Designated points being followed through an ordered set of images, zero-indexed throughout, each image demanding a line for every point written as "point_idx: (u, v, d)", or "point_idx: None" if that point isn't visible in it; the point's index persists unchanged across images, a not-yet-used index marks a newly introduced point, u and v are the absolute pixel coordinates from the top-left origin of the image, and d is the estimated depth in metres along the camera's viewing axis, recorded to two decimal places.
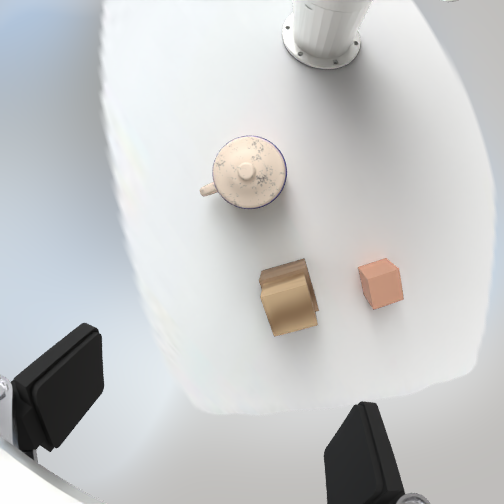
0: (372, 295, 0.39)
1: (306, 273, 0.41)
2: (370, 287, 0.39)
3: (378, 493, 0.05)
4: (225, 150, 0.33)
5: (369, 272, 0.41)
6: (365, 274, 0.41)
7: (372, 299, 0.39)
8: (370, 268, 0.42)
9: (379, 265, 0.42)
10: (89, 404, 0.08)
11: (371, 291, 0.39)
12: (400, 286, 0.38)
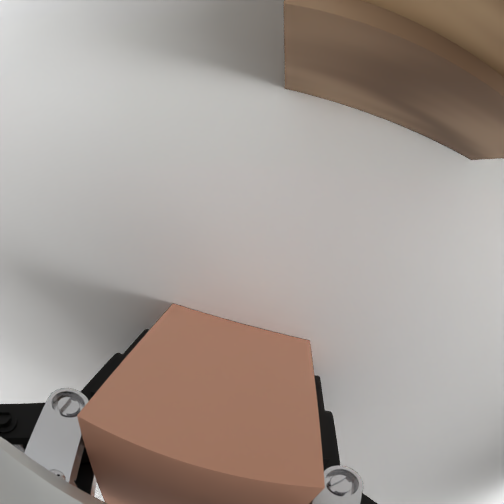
0: (184, 468, 0.04)
1: None
2: (253, 482, 0.04)
3: None
4: None
5: None
6: None
7: (153, 452, 0.04)
8: None
9: None
10: None
11: (219, 477, 0.04)
12: None
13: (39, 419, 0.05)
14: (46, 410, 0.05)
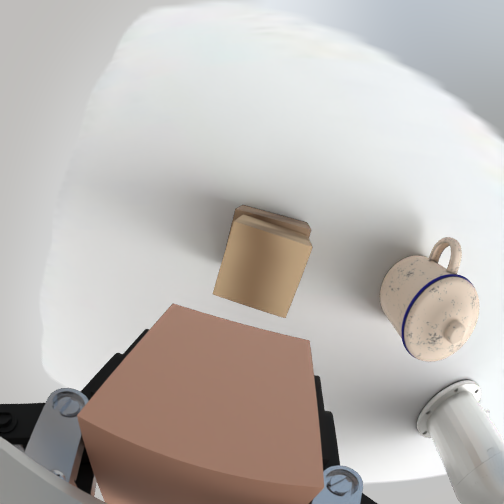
0: (184, 468, 0.04)
1: None
2: (253, 482, 0.04)
3: None
4: (476, 313, 0.21)
5: None
6: None
7: (152, 452, 0.04)
8: None
9: None
10: None
11: (218, 476, 0.04)
12: None
13: (39, 419, 0.05)
14: (45, 409, 0.05)
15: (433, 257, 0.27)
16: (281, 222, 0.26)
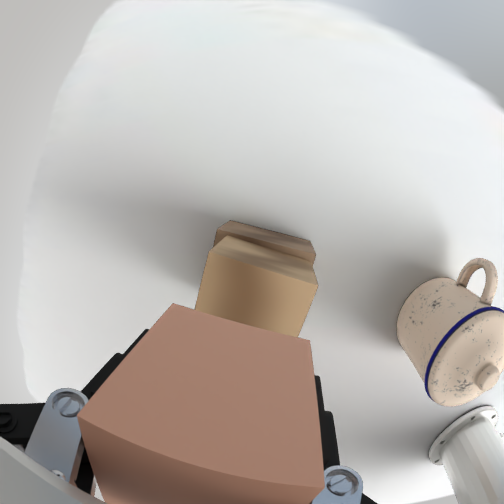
0: (184, 468, 0.04)
1: None
2: (253, 482, 0.04)
3: None
4: None
5: None
6: None
7: (152, 452, 0.04)
8: None
9: None
10: None
11: (219, 476, 0.04)
12: None
13: (39, 419, 0.05)
14: (45, 409, 0.05)
15: (460, 281, 0.21)
16: (277, 245, 0.20)
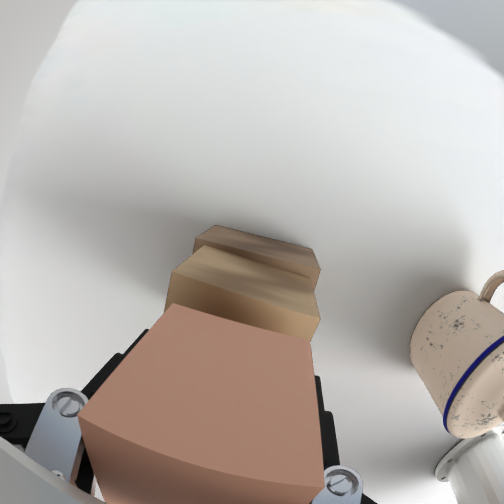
0: (184, 467, 0.04)
1: None
2: (253, 482, 0.04)
3: None
4: None
5: None
6: None
7: (153, 452, 0.04)
8: None
9: None
10: None
11: (219, 476, 0.04)
12: None
13: (39, 419, 0.05)
14: (45, 409, 0.05)
15: (483, 295, 0.17)
16: (271, 258, 0.16)
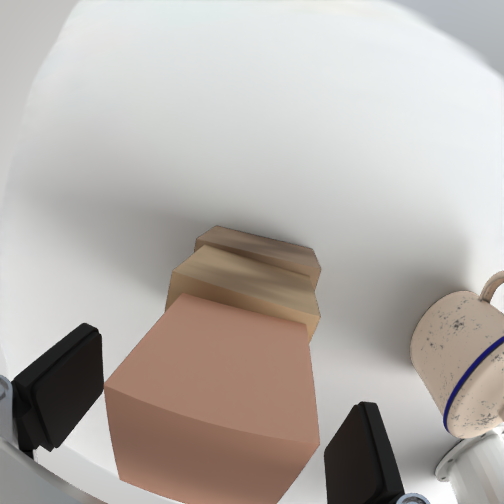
0: (198, 426, 0.05)
1: None
2: (257, 438, 0.05)
3: (378, 493, 0.05)
4: None
5: None
6: None
7: (171, 413, 0.05)
8: None
9: None
10: (89, 404, 0.08)
11: (228, 433, 0.05)
12: (182, 500, 0.07)
13: None
14: None
15: (483, 295, 0.17)
16: (272, 258, 0.16)
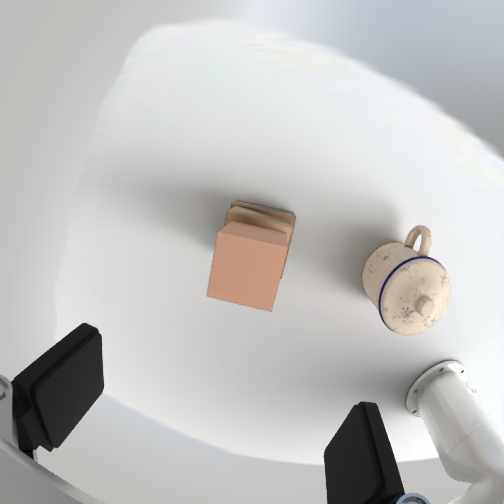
0: (249, 242, 0.20)
1: None
2: (268, 245, 0.20)
3: (378, 493, 0.05)
4: (447, 291, 0.26)
5: None
6: None
7: (240, 238, 0.20)
8: None
9: None
10: (89, 404, 0.08)
11: (258, 243, 0.20)
12: (235, 300, 0.22)
13: None
14: None
15: (408, 244, 0.32)
16: (270, 212, 0.31)
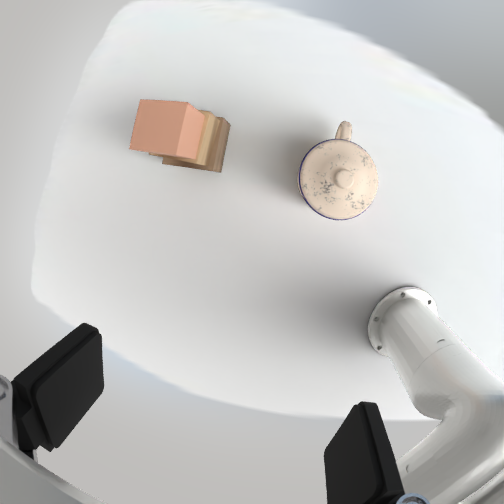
0: (160, 102, 0.23)
1: (206, 168, 0.35)
2: (173, 103, 0.23)
3: (378, 493, 0.05)
4: (373, 173, 0.29)
5: (192, 116, 0.26)
6: (193, 109, 0.25)
7: (155, 101, 0.23)
8: (195, 125, 0.27)
9: (192, 139, 0.28)
10: (89, 404, 0.08)
11: (167, 102, 0.23)
12: (149, 149, 0.25)
13: None
14: None
15: None
16: None
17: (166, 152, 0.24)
